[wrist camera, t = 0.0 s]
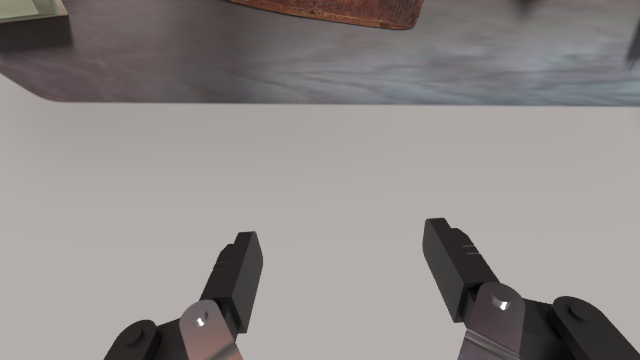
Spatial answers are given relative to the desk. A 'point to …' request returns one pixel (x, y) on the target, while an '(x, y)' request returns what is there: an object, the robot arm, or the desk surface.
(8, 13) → the cradle
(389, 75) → the desk surface
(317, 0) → the wooden tablet
